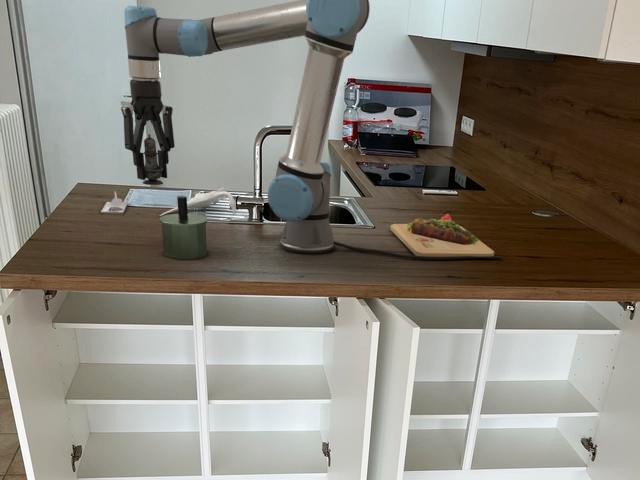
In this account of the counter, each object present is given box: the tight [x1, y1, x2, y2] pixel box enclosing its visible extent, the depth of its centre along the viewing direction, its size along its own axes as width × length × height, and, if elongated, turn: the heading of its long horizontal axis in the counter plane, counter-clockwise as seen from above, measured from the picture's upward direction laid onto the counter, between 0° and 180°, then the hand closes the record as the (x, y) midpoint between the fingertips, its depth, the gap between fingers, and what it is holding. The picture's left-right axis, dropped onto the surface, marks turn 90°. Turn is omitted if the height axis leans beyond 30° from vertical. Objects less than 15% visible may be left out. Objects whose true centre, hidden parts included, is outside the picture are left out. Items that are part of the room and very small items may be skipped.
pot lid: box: [159, 195, 208, 226], centre depth 193 cm, size 12×12×7 cm
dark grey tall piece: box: [142, 133, 164, 186], centre depth 195 cm, size 6×6×12 cm
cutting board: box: [389, 213, 495, 257], centre depth 222 cm, size 35×23×8 cm
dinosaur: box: [159, 186, 237, 217], centre depth 244 cm, size 25×9×16 cm
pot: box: [161, 222, 208, 260], centre depth 197 cm, size 11×11×8 cm
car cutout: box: [100, 190, 129, 215], centre depth 239 cm, size 15×7×4 cm, turn 9°
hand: (152, 177), depth 197 cm, fingers closed on dark grey tall piece, 6 cm apart
